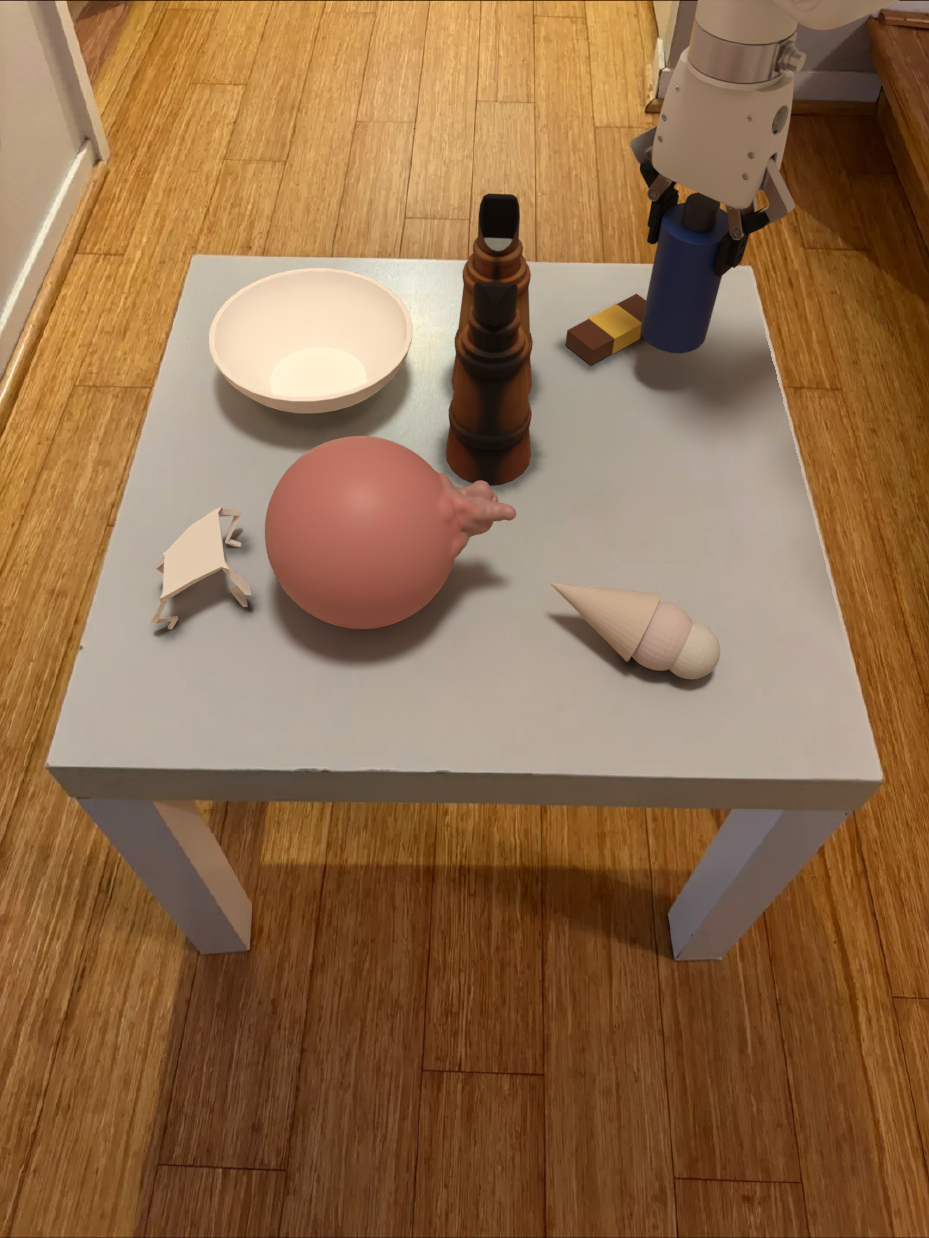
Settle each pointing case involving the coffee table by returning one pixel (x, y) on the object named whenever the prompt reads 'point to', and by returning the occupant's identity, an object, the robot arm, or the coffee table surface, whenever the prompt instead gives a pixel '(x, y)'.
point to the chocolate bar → (608, 330)
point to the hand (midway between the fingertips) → (691, 251)
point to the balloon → (370, 530)
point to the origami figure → (198, 560)
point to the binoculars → (493, 353)
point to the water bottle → (684, 275)
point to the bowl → (311, 339)
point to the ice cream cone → (646, 629)
